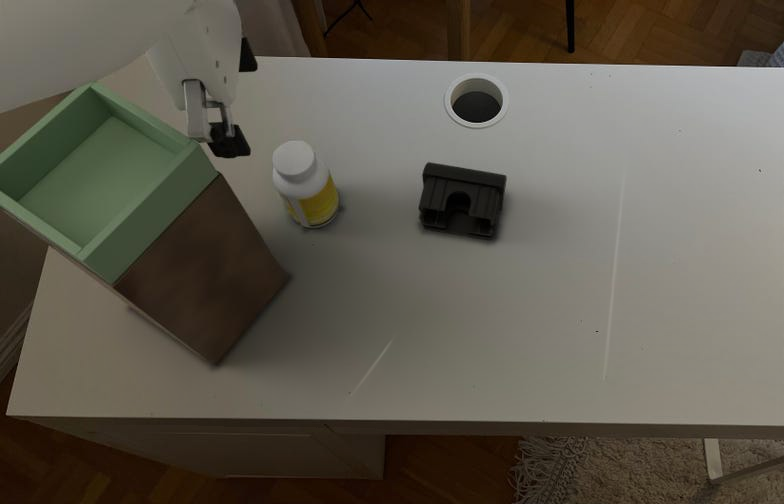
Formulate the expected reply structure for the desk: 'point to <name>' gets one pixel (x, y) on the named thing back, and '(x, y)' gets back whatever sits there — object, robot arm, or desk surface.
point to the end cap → (461, 200)
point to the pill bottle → (304, 184)
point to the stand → (199, 273)
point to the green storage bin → (102, 178)
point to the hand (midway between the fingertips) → (238, 110)
